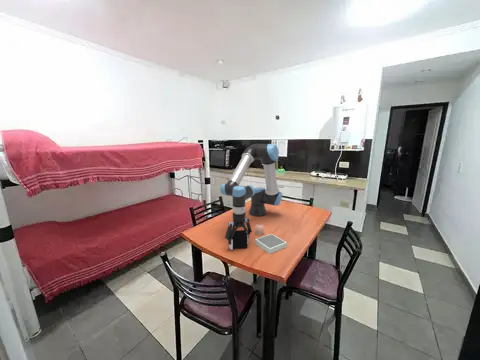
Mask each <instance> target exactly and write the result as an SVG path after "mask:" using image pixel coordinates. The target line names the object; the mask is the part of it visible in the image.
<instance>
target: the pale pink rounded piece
mask: <svg viewBox="0 0 480 360" xmlns="http://www.w3.org/2000/svg"><path fill="white" fill-rule="evenodd" d="M254 227H255V228H254V233H255V236H259V237H263V236H264V234H265V225H264V224H262V223H256V224H255V226H254Z"/></svg>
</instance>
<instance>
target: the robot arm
mask: <svg viewBox="0 0 480 360" xmlns="http://www.w3.org/2000/svg"><path fill="white" fill-rule="evenodd" d="M279 156H280V155H279V148H278V146H277V145H276V144H272V143H253V144H251V145H249V146H248V147H247V148H246V149H245V150H244V151H243V153H242V154H241V159H240V160H239V162H238V164H237V166H236V167H235V169H234V171H233V173H232V174H231V175H230V178H229V180H228V181H227V183H222V184H221V186H220V189H219V191H220V193H221V195H223V196H230V197H232V221H231V222H230V221H228V223H227V230H226V232H225V235H224V236H225V237H224V238H225V240H227V244H228V246H229V247H228V248H229V249H230V250H231V251H232V250H234V249H233V240H232V237H233V235H234V233H235V231H236V230H238V229H239V228H242V229H243V230H246V231H247V234H248V236H247V245H249V239H250V235H251V233H252V232H253V230H252V226H251V224H250V223H251V222H250V218H248V217H246V200H248V199H251V201H250V202H251V203H250V207H249V210H248V214H249V215H250V216H253V217H264V216H266V215H267V210H266V207H265V205H270V206H279V205H280V204H281V202H282V199H283V193H282V192H281V191H280V189H279V188H278V184H277V173H276V163H277V160H279ZM255 160H260V163H261V164H262V165H263V172H264V179H265V187H266V188H265V187H262V186H261V187H260V186H259V187H255V186H253V185H251V184H250V185H248V184H247V185H246V186H245V185H240V183H242V180H243V178H244V176H245V175H246V173H247V171H248V169H249V167H250V165H251V163H253V162H254V161H255Z"/></svg>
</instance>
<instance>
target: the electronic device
mask: <svg viewBox="0 0 480 360" xmlns="http://www.w3.org/2000/svg"><path fill="white" fill-rule="evenodd" d="M247 236H248V234H247V231H246V230H244V229H243V230H242V229H239V230H238V229H237V230H236V231H235V233H234V235H233V237H232V240H233V250H234V249H236V250H237V249H247V248H248V244H247Z"/></svg>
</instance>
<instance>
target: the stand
mask: <svg viewBox="0 0 480 360" xmlns="http://www.w3.org/2000/svg"><path fill="white" fill-rule="evenodd" d="M254 244H255V245H256V246H258V247H259V249H260V248H261V249H262V250H263V251H265V252H266V253H267V254H269V255H272V254H274V253H275V252H279V251H281V250H283V249H286V248H287V247H288V243H287V241H285V240H283V239H282V238H280V237H279V236H276V235H275V234H273V233H270V234H269V233H268V234H266V235H262V236H259V237H258V238H255V239H254Z"/></svg>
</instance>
